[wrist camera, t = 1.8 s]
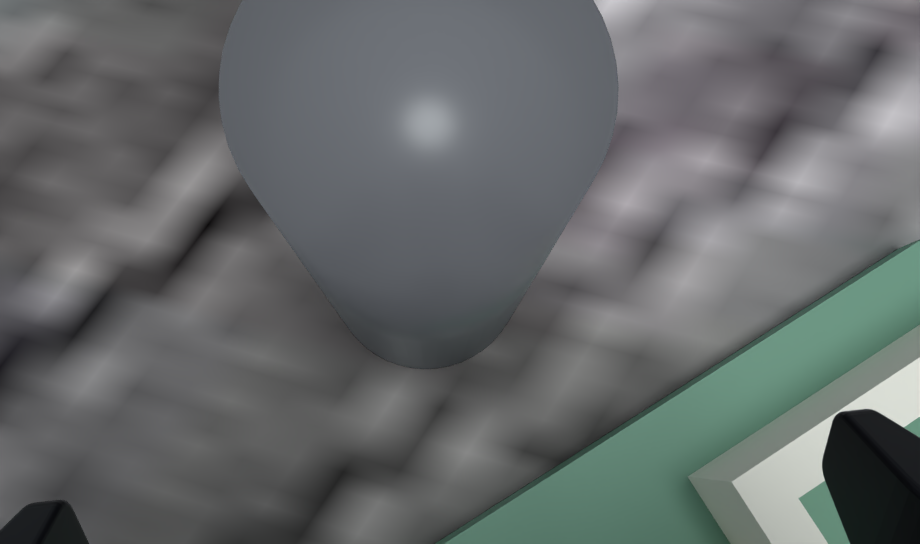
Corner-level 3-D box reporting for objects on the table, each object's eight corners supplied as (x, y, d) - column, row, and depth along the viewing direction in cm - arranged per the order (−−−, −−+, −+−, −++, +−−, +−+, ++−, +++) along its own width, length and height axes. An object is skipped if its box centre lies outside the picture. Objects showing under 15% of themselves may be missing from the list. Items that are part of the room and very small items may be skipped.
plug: (531, 358, 22) (646, 253, 10) (340, 378, 21) (229, 295, 10) (505, 153, 23) (581, -156, 11) (324, 170, 23) (206, -129, 11)
